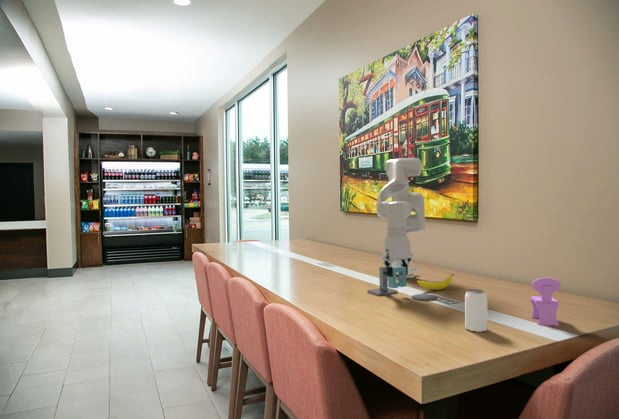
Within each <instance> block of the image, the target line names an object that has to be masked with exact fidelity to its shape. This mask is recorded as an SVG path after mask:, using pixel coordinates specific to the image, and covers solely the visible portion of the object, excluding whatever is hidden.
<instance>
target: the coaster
mask: <svg viewBox="0 0 619 419" xmlns="http://www.w3.org/2000/svg"><path fill="white" fill-rule="evenodd" d="M411 299H413V300H415V301H420V302H431V301H436V300H438V296H436V295H434V294H426V293H425V294H424V293H419V294H417V293H416V294H413V295H412V296H411Z"/></svg>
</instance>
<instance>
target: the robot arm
mask: <svg viewBox="0 0 619 419" xmlns="http://www.w3.org/2000/svg"><path fill="white" fill-rule="evenodd" d="M384 169H385V173H386V175H387V177H388V180H387V184H385V185H384V187H382V189H381V190H380V191H379V192H378V195H377V199H376V215H377V217H379V218H380V219H386V222H387V223H386V226H387V227H386V228H387V229H386V230H387V232H386V234H387V235H385V237H384V242H383V243H384V245H383V254H382V255H381V257H380V258H379V259H380V260H381V262H382V263H383V265H384V267H387V276H389V277H393V267H397V266H404V267H406V280H407V279H413V278H414V277H415V274H414V272H419V268H418V267H412V258H413V257H414V254H413V253H412V251H411V248H412V247H411V240H410V238H409V237H408V235H407V234H422V233H423V232H424V231H425V230H426V213H425V212H426V210H425V208H426V207H425V206H426V205H425V196H424V194H422V193H421V192H410V186H409V178H408V177H420V176H421V174H422V172H423V171H422V170H423V164H422V161H421V159H420V158H418V157H400V158H392V159H388V160H387V161H386V162H385V163H384ZM389 198H391V200H388V199H389ZM412 212H413V213H412ZM414 213H415V214H414ZM396 274H398V272H396ZM398 275H399V274H398ZM396 279H398V280H399V278H398V277H396Z"/></svg>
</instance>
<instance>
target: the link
mask: <svg viewBox="0 0 619 419" xmlns="http://www.w3.org/2000/svg"><path fill="white" fill-rule="evenodd" d="M396 272H398V274H399V275H402V276H405V278H404V279H402V278H399V279H398V281H397V278H396ZM404 287H407V279H406V267H404V266H397V267H393V277H389V276H388V288H390V289H398V288H404Z"/></svg>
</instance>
